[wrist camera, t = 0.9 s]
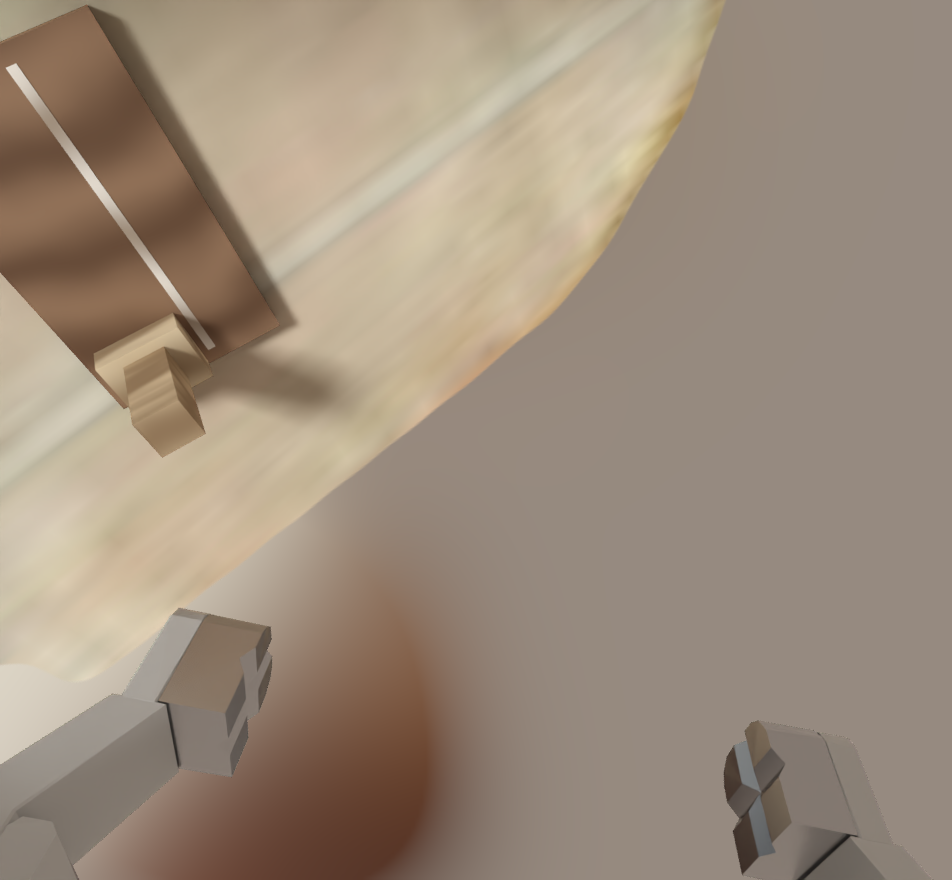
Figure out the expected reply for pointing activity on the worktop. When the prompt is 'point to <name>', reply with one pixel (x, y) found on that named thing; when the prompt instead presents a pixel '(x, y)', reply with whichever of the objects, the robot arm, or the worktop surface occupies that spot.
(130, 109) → the walnut board
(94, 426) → the worktop surface
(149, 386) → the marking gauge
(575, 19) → the worktop surface
